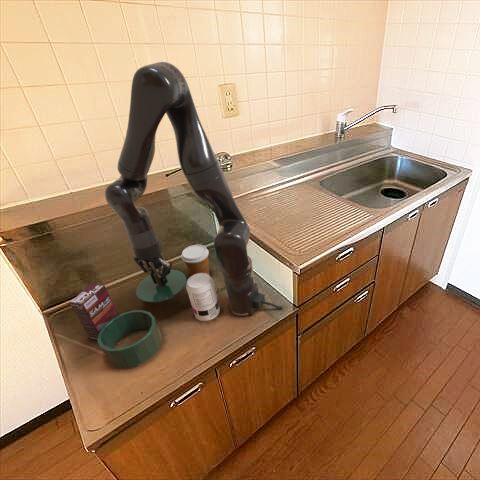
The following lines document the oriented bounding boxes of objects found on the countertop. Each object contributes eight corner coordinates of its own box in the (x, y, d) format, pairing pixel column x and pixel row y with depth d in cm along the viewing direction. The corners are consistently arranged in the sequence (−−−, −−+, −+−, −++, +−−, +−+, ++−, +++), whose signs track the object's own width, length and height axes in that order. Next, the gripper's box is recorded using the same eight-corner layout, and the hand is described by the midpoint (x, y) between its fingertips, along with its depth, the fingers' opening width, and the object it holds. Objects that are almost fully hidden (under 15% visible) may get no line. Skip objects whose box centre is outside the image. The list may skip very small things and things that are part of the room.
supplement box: (103, 341, 97) (82, 305, 88) (90, 338, 98) (67, 302, 89) (123, 320, 104) (105, 284, 95) (110, 317, 105) (91, 282, 96)
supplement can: (190, 318, 105) (179, 285, 97) (205, 301, 112) (196, 269, 103) (210, 325, 103) (201, 292, 95) (225, 307, 110) (217, 275, 101)
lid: (196, 277, 111) (192, 264, 107) (164, 309, 99) (158, 295, 95) (160, 268, 115) (155, 254, 111) (126, 297, 103) (119, 283, 99)
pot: (172, 335, 100) (165, 317, 95) (136, 375, 88) (126, 357, 84) (136, 322, 104) (127, 305, 99) (96, 359, 92) (85, 341, 88)
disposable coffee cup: (203, 287, 118) (196, 261, 111) (182, 280, 121) (174, 255, 114) (218, 271, 125) (213, 247, 118) (198, 265, 128) (192, 241, 121)
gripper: (116, 242, 95) (136, 285, 105) (153, 252, 91) (170, 295, 101) (136, 230, 101) (152, 271, 111) (171, 238, 97) (185, 280, 107)
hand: (161, 282), depth 106 cm, fingers closed on lid, 2 cm apart
